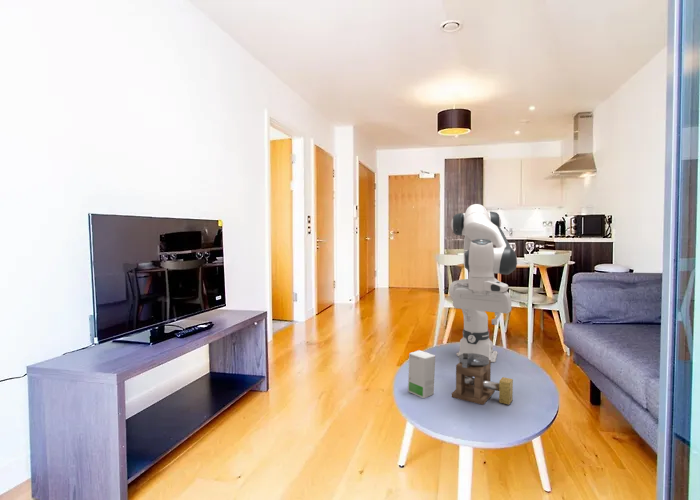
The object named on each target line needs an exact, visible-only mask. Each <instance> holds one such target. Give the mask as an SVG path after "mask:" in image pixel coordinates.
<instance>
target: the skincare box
mask: <svg viewBox="0 0 700 500" xmlns="http://www.w3.org/2000/svg"><path fill="white" fill-rule="evenodd" d="M435 367H436V355H435V354H432V353H429V352H427V351H423V350H420V349H418V350H415V351H412V352H409V354H408V380H407V381H408V383H407V385H408V386H407V392H408V393H411V394H412V395H415V396H417V397H420V398H422V399H426V398H429V397H430V396H433V395H434V394H435V371H436V368H435Z"/></svg>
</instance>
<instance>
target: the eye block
mask: <svg viewBox="0 0 700 500" xmlns="http://www.w3.org/2000/svg"><path fill="white" fill-rule="evenodd" d="M491 363H492V362H491V360H489V364H488V365H486V366H481V367H474V366H469V367H468V368H463V367H462V363H460V362H459V361H458V363H457V364H456V365H455V389H454V391H452V392H451V398H455V399H458V400H462V401H466V402H470V403H473V404H477V405H481V406H482V405H483V406H484V405H485V404H486V402H488V401H489V399H490V398H491V397H492V396H493V394H495V390H491V389H487V388H483V380H486V381H491V374H492V372H491V370H492V367H491ZM465 376H467V377H472V378H475V382H474V386H473V385H469V384H465Z"/></svg>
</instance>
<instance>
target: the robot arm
mask: <svg viewBox="0 0 700 500" xmlns="http://www.w3.org/2000/svg"><path fill="white" fill-rule="evenodd" d="M501 227H502V219H501V216H500V215H499V213H498V212H495V211H488V210H487V209H486V207H485V206H484V205H482V204H480V203H474V204H471V205H469V206H468V207H467V209H466V210H465V212H460V213H456V214H454V215H453V216H452V219H451V221H450V228H451V230H452V233H453V235H455V236H460V237H461V236H464V237H463V238H464V239H463V266H464V268H465V269H466V270H467V271H469V272H468V278H467V279H466V278H465V279H464V278H463V279H457V280H453V281H452V282H451V284H450V286H449V289H448V292H449V295H450V297H451V300H452V307H454V309H460V310H461V311H462V315H463V330H462V337H461V339H460V340H459V351H458V352H456V356H457V357H459V355H461V354H463V353H475V354H481V355H484V356H486V357H488V358H489V360H491V363H496V362H497V358H498V354H499V353H498V351H496V350H494V343H493V341H492V339H490V332H491V330H490V328H489V326H488V325H489V316H488V314H487V312H489V313H494V316H495V317H494V318H492V319H491V325H493V326H497V325H498V320H499V318H500V317H501V315H502V314H506V315H507V314H509V313H510V312H512V299H511V294H510V293H509V292H508V290H509V285H508V284H507V283H504V282H502V281H499V280H498V279H497V278H496V277H495V274H500V275H507V276H508V275H510V274H512V273H513V272H514V271H515V270H516V269H517V266H518V258H517V254H516V252H515V250H514V249H513V248H512V246H511V245H510V243H509V241H508V238H507V237H506V235H505V233H504V231H503V230H502V228H501Z"/></svg>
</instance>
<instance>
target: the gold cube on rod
mask: <svg viewBox="0 0 700 500" xmlns="http://www.w3.org/2000/svg"><path fill="white" fill-rule="evenodd" d="M474 382H475V377H473V378H472V377H467V376H465V384H469V385H473V386H474ZM513 382H514V379H513V378H509V377H505V376H503V377H501V378H500V380H499V382H494V381H491V380H490V381H486V380H483V388H487V389H491V390H495V391H497V392H498V395H499V396H498V402H499V403H500V404H505V405H508V406H509V405H510V404H511V403H512V402H513V393H514V392H513V388H514V386H513V384H514V383H513Z"/></svg>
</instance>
